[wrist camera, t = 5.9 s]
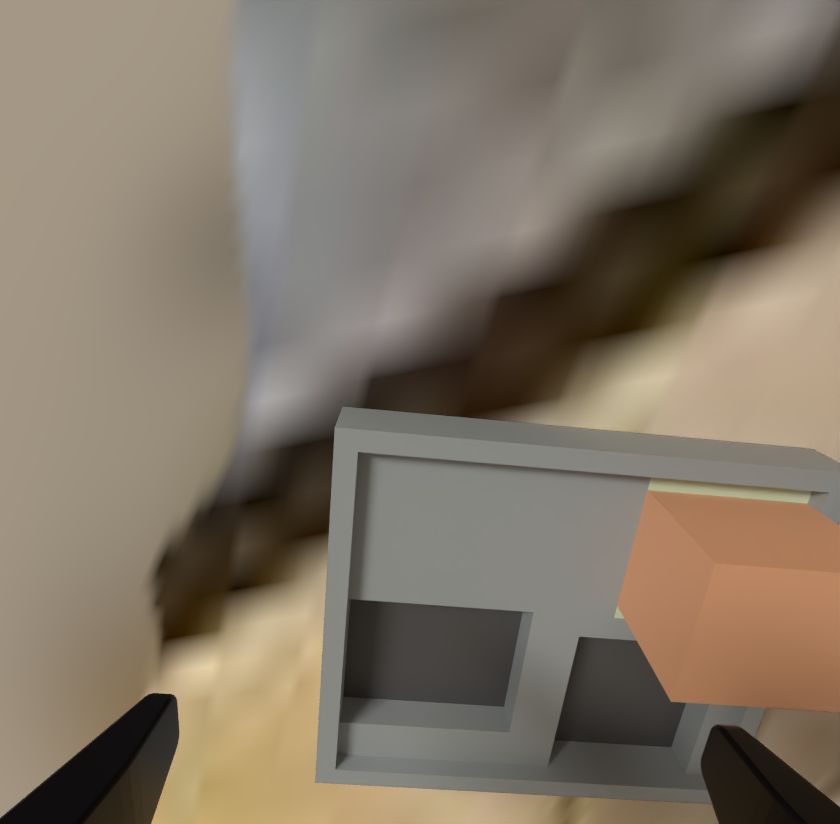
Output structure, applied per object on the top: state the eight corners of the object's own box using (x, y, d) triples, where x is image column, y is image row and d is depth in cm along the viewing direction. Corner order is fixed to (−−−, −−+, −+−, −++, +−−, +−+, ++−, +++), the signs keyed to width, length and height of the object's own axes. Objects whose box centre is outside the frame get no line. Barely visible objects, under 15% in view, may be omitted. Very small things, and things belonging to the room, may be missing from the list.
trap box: (813, 449, 20) (859, 473, 18) (701, 758, 26) (727, 805, 23) (342, 406, 20) (335, 427, 17) (323, 736, 25) (315, 782, 22)
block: (807, 503, 20) (918, 579, 15) (765, 616, 21) (856, 713, 17) (647, 489, 19) (715, 563, 15) (617, 605, 21) (670, 701, 16)
